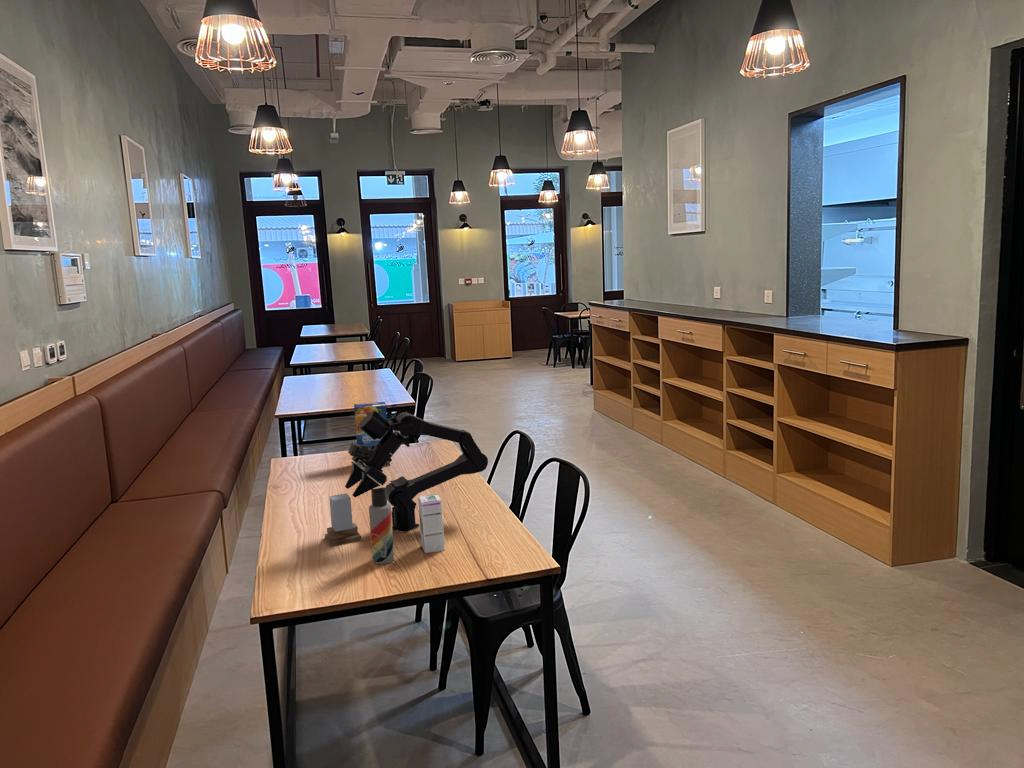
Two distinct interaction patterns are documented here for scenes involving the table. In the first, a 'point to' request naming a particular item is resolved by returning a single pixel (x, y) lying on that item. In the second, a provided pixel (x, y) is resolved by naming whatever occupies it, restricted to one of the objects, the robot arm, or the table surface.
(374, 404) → the juice carton
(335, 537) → the walnut ridge
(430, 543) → the syrup box
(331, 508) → the slate post
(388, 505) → the lotion bottle
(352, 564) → the table surface
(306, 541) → the table surface
